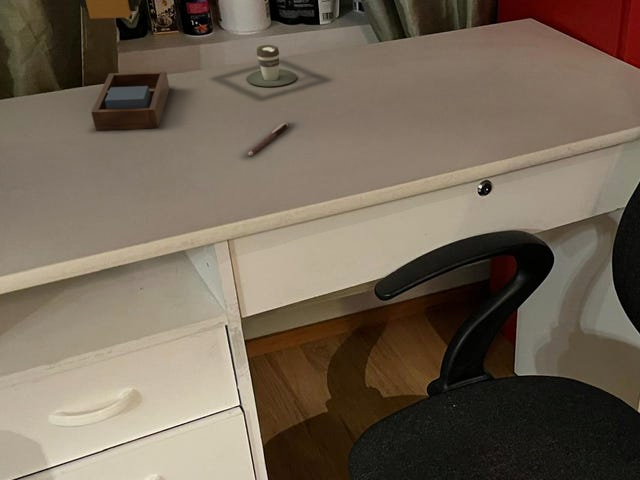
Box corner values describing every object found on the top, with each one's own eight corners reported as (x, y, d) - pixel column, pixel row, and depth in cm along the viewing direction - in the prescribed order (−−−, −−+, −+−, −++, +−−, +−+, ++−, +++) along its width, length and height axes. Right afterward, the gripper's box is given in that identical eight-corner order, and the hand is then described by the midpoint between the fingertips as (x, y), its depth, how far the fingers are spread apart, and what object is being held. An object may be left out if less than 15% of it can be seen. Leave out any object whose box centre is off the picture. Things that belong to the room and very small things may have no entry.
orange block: (90, 18, 114) (84, -5, 113) (96, 8, 118) (91, -15, 117) (129, 17, 115) (124, -6, 113) (134, 7, 119) (129, -16, 117)
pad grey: (110, 121, 118) (104, 100, 116) (115, 108, 122) (110, 87, 120) (148, 120, 118) (143, 98, 117) (152, 106, 122) (148, 85, 121)
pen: (286, 126, 120) (285, 119, 119) (291, 127, 120) (290, 120, 119) (245, 158, 111) (244, 151, 111) (251, 159, 111) (249, 151, 110)
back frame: (95, 130, 117) (91, 112, 115) (113, 90, 129) (109, 73, 127) (158, 127, 118) (154, 109, 116) (169, 88, 130) (166, 71, 128)
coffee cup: (280, 61, 141) (276, 30, 138) (325, 80, 134) (323, 48, 131) (216, 78, 134) (210, 45, 131) (260, 99, 127) (256, 65, 124)
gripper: (143, -138, 110) (170, 1, 121) (24, -138, 108) (61, 4, 118) (136, -129, 104) (164, 16, 115) (9, -129, 102) (50, 20, 113)
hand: (112, 9), depth 117 cm, fingers closed on orange block, 5 cm apart
